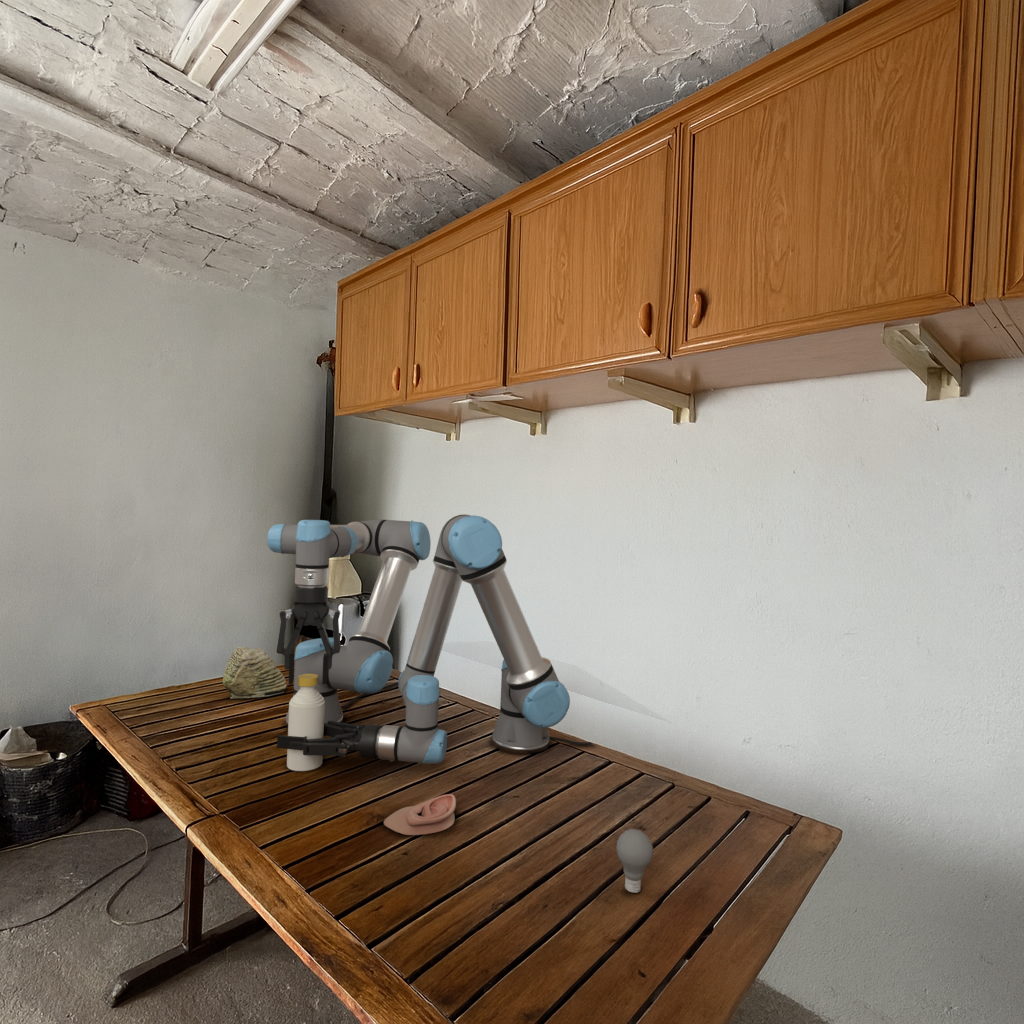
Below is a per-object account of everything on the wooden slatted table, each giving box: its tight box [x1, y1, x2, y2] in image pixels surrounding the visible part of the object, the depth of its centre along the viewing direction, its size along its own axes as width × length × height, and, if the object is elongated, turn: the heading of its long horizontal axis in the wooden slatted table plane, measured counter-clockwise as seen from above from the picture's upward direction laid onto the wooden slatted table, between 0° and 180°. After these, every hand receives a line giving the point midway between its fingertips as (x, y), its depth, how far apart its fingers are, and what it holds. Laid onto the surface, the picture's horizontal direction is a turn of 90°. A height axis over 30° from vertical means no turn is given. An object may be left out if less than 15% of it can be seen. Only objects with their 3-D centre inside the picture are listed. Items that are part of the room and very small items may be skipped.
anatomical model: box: [383, 793, 457, 836], centre depth 125 cm, size 13×4×12 cm
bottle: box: [286, 686, 325, 772], centre depth 149 cm, size 8×8×20 cm
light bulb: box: [615, 828, 654, 894], centre depth 106 cm, size 6×6×10 cm
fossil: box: [222, 646, 288, 699], centre depth 198 cm, size 9×18×15 cm, turn 132°
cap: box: [298, 674, 318, 687], centre depth 149 cm, size 5×5×2 cm
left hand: (307, 682), depth 149 cm, fingers open, 7 cm apart
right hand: (286, 734), depth 150 cm, fingers closed on bottle, 8 cm apart
